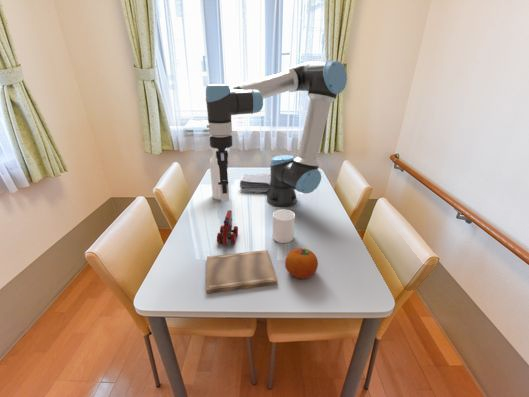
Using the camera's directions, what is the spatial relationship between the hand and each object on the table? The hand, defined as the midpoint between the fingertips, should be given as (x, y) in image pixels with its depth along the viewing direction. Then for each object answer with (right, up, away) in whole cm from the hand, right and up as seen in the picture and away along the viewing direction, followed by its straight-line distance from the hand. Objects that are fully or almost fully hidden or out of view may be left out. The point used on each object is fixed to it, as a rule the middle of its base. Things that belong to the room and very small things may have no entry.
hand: (224, 192), depth 97 cm
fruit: (+27, -27, -8) cm, 39 cm away
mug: (+22, -17, +12) cm, 31 cm away
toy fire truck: (0, -19, +9) cm, 21 cm away
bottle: (-9, -2, +43) cm, 44 cm away
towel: (+10, +3, +54) cm, 55 cm away
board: (+7, -27, -8) cm, 29 cm away
